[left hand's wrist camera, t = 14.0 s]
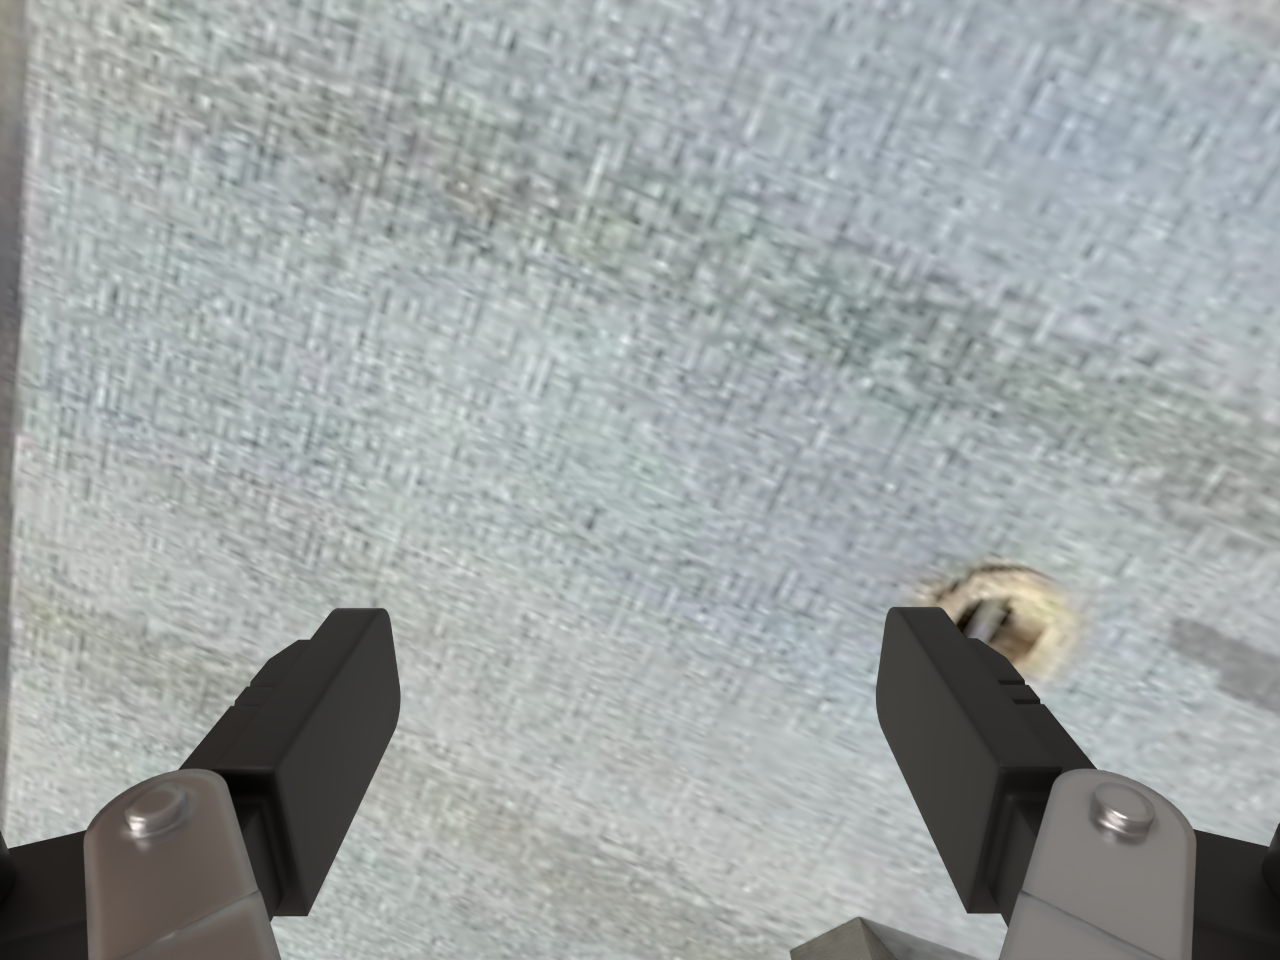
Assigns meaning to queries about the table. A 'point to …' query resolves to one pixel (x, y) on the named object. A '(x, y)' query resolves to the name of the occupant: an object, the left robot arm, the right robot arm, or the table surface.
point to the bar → (844, 945)
